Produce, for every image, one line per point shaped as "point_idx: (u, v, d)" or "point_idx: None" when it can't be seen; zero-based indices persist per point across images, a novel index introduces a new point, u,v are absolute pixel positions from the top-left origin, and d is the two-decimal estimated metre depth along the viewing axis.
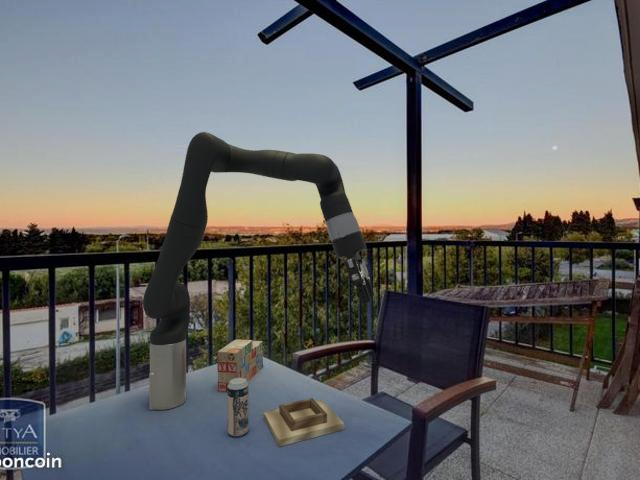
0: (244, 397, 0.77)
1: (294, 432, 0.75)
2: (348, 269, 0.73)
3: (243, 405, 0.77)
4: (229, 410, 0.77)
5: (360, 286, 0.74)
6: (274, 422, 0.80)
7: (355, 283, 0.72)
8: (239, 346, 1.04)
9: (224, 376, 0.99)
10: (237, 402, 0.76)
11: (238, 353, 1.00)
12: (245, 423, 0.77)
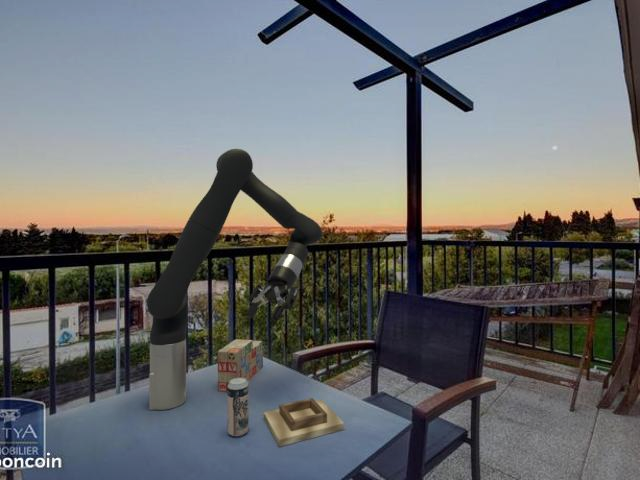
0: (244, 397, 0.77)
1: (294, 432, 0.75)
2: (293, 293, 0.92)
3: (243, 405, 0.77)
4: (229, 410, 0.77)
5: (283, 308, 0.90)
6: (274, 422, 0.80)
7: (289, 304, 0.90)
8: (239, 346, 1.04)
9: (224, 376, 0.99)
10: (237, 402, 0.76)
11: (238, 353, 1.00)
12: (245, 423, 0.77)
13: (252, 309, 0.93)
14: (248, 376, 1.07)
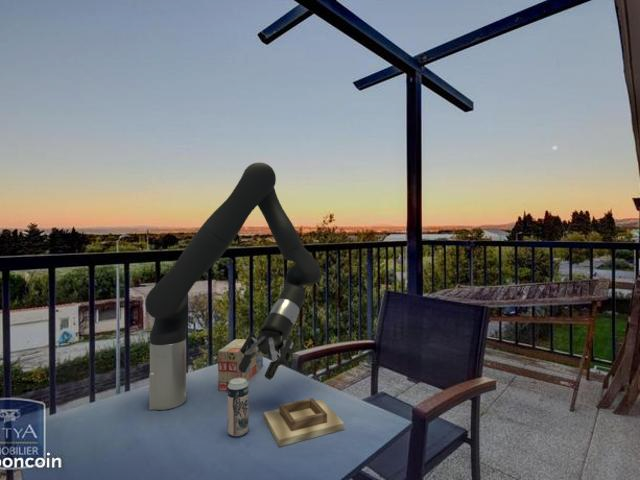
0: (244, 397, 0.77)
1: (294, 432, 0.75)
2: (288, 347, 0.84)
3: (243, 405, 0.77)
4: (229, 410, 0.77)
5: (278, 364, 0.83)
6: (274, 422, 0.80)
7: (284, 360, 0.82)
8: (239, 346, 1.04)
9: (224, 376, 1.00)
10: (237, 402, 0.76)
11: (239, 352, 1.00)
12: (245, 423, 0.77)
13: (244, 362, 0.86)
14: (248, 376, 1.07)
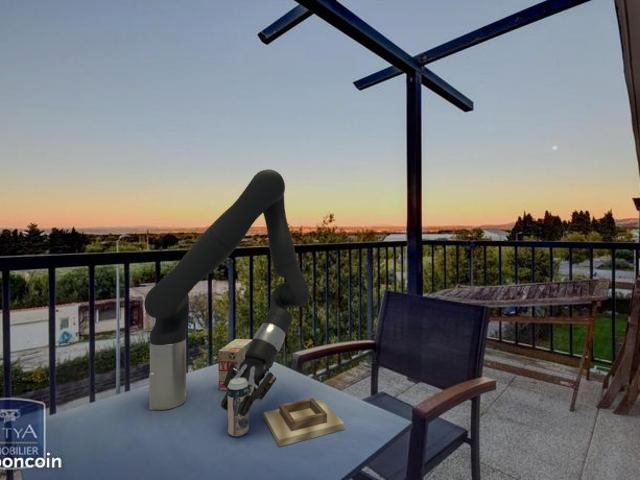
0: (244, 397, 0.77)
1: (294, 432, 0.75)
2: (267, 382, 0.78)
3: None
4: (229, 410, 0.77)
5: (253, 399, 0.77)
6: (274, 422, 0.80)
7: (259, 395, 0.77)
8: (240, 345, 1.04)
9: (225, 375, 1.00)
10: (237, 402, 0.76)
11: (239, 352, 1.00)
12: (245, 423, 0.77)
13: (227, 399, 0.79)
14: None
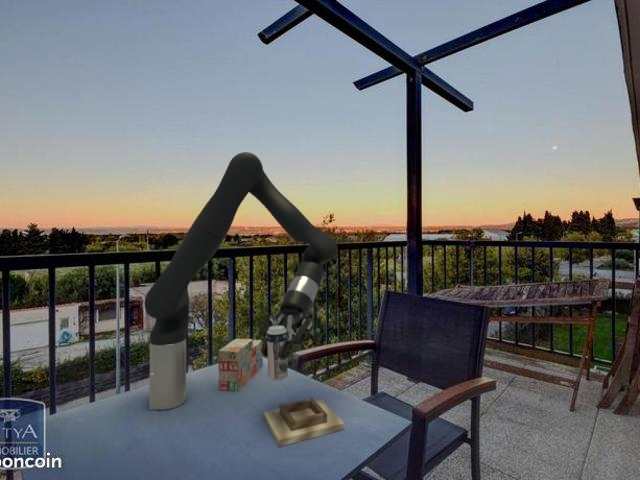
0: (283, 342, 0.79)
1: (294, 432, 0.75)
2: (306, 327, 0.80)
3: None
4: (269, 355, 0.79)
5: (292, 344, 0.79)
6: (274, 422, 0.80)
7: (298, 340, 0.79)
8: (240, 345, 1.05)
9: (225, 375, 1.00)
10: (277, 347, 0.78)
11: (239, 352, 1.01)
12: (285, 368, 0.79)
13: (266, 345, 0.81)
14: (248, 375, 1.08)
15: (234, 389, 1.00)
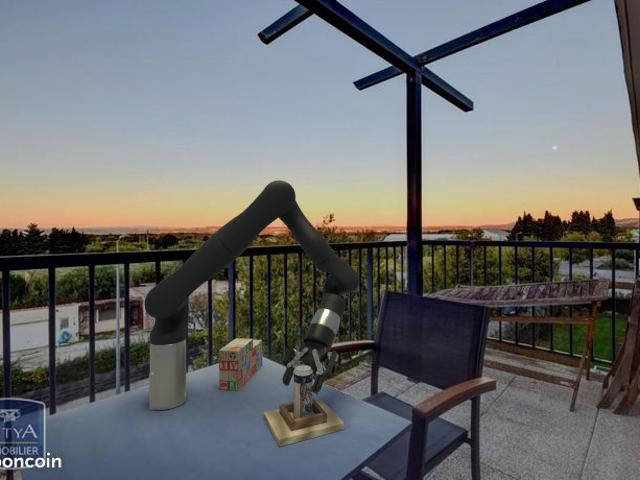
0: (310, 383, 0.81)
1: (294, 432, 0.75)
2: (334, 359, 0.82)
3: (309, 391, 0.80)
4: (296, 395, 0.80)
5: (324, 377, 0.80)
6: (274, 422, 0.80)
7: (330, 373, 0.80)
8: (240, 345, 1.05)
9: (226, 375, 1.01)
10: (304, 388, 0.80)
11: (239, 351, 1.01)
12: (310, 408, 0.81)
13: (288, 375, 0.83)
14: (249, 374, 1.08)
15: (234, 388, 1.00)
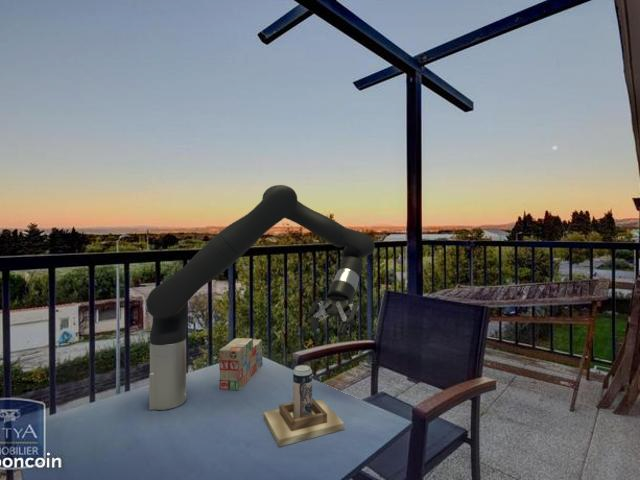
0: (309, 383, 0.81)
1: (294, 432, 0.75)
2: (356, 309, 0.93)
3: (309, 391, 0.80)
4: (295, 395, 0.80)
5: (347, 324, 0.91)
6: (274, 422, 0.80)
7: (353, 320, 0.91)
8: (240, 344, 1.05)
9: (226, 374, 1.01)
10: (304, 388, 0.80)
11: (240, 351, 1.01)
12: (310, 408, 0.81)
13: (314, 324, 0.94)
14: (249, 374, 1.08)
15: (235, 388, 1.00)
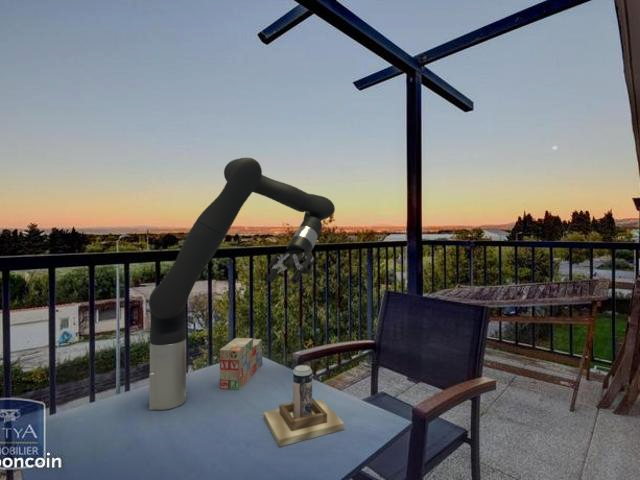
0: (310, 383, 0.81)
1: (294, 432, 0.75)
2: (310, 259, 1.01)
3: (309, 391, 0.80)
4: (295, 396, 0.80)
5: (302, 272, 0.99)
6: (274, 422, 0.80)
7: (306, 269, 0.99)
8: (240, 344, 1.06)
9: (226, 374, 1.01)
10: (304, 388, 0.80)
11: (240, 351, 1.02)
12: (310, 408, 0.81)
13: (272, 274, 1.02)
14: (249, 374, 1.09)
15: (235, 388, 1.01)
